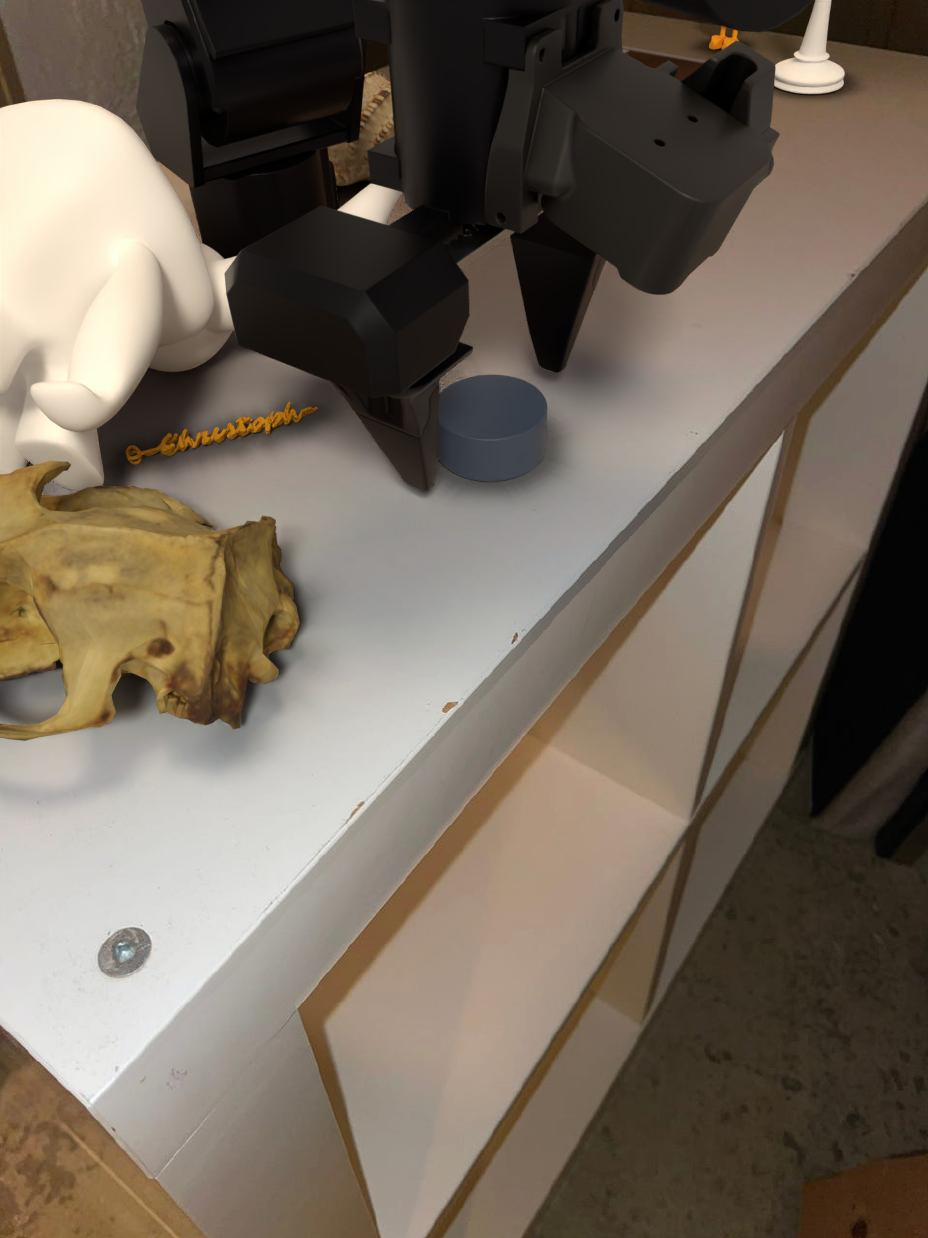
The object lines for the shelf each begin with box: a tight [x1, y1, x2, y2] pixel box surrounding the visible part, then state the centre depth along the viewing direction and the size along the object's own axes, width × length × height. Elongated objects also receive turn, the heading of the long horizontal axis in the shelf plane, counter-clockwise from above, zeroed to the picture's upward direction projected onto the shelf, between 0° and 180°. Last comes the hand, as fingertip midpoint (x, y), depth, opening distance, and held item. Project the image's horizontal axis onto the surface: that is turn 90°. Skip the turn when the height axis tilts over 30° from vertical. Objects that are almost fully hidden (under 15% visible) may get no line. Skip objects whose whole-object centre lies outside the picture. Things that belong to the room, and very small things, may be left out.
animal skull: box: [0, 461, 300, 742], centre depth 29 cm, size 10×16×7 cm
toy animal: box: [0, 98, 404, 492], centre depth 37 cm, size 20×12×17 cm
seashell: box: [328, 71, 394, 187], centre depth 55 cm, size 8×6×10 cm
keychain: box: [125, 401, 318, 466], centre depth 39 cm, size 8×1×1 cm, turn 112°
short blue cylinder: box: [437, 374, 549, 483], centre depth 37 cm, size 4×4×2 cm
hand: (489, 423), depth 37 cm, fingers open, 9 cm apart
